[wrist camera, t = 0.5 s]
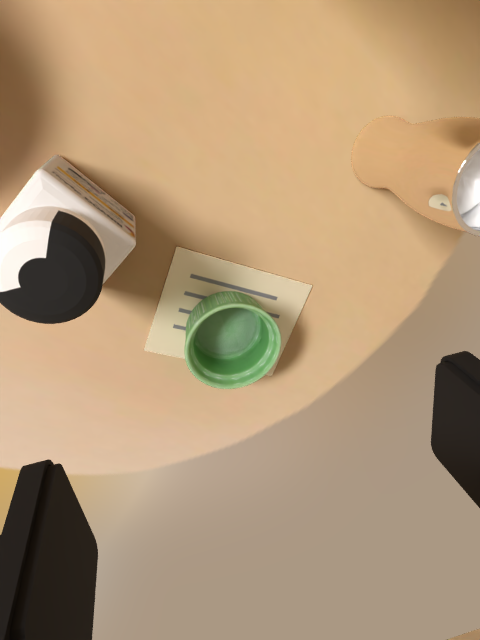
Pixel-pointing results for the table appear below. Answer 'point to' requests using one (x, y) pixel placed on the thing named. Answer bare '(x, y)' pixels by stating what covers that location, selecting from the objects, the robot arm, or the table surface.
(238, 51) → the table surface
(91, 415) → the table surface
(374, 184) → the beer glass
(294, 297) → the letter
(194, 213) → the table surface
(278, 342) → the ramekin
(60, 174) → the container
